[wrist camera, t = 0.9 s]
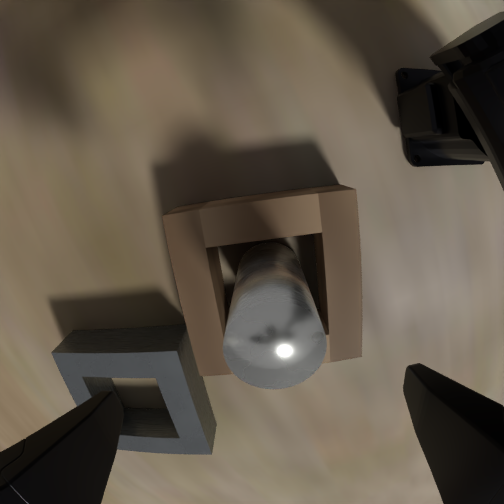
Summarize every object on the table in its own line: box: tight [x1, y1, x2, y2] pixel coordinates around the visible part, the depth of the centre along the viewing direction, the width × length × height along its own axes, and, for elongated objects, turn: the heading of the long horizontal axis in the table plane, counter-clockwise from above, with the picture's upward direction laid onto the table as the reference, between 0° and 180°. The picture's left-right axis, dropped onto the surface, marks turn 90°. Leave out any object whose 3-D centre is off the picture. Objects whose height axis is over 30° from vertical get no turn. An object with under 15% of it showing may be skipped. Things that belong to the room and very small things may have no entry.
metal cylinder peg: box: [223, 242, 327, 389], centre depth 16 cm, size 4×4×9 cm
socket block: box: [162, 184, 362, 376], centre depth 19 cm, size 10×10×4 cm
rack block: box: [51, 324, 217, 454], centre depth 22 cm, size 10×10×4 cm
